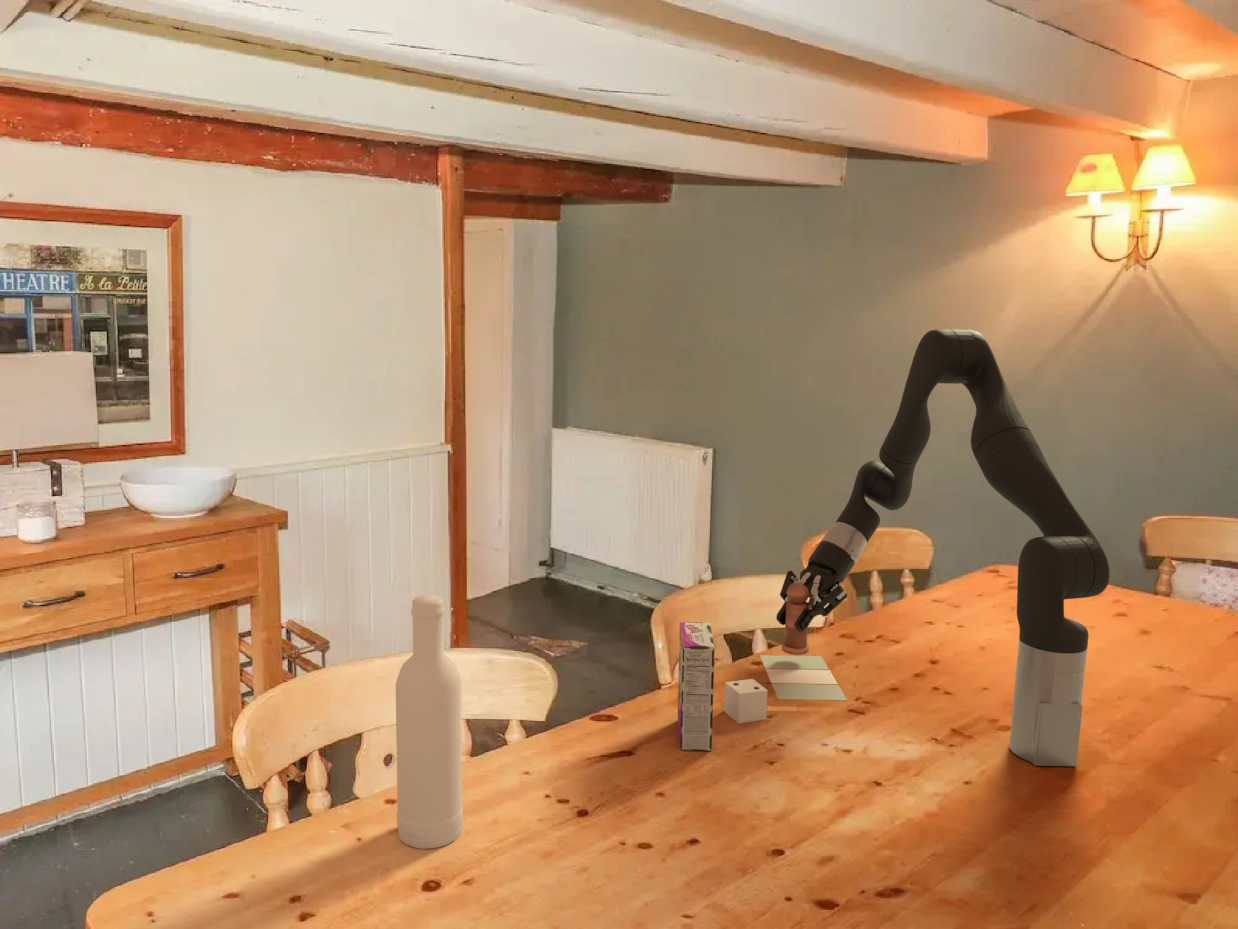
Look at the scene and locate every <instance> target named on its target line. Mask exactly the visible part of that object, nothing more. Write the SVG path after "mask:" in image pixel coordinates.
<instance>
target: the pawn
mask: <svg viewBox="0 0 1238 929" xmlns="http://www.w3.org/2000/svg"><path fill="white" fill-rule="evenodd" d="M787 597H788V599H789V600H788V601H787V602H786V620H785V625H784V626H785V627H784V629H785V630H784V641H783V642H782V644H781V650H782V652H784V653H785V654H788V655H793V656H803V655H805V654H808V653H809V652H810V651H809V649H810V648H809V644H808V642H807V640H808V627H807V628H806V629H805V630H804V631H803V632H800V631H798V630H797V629H796V628H795V626H794V624H795V622H796V620H797V619H798V618H799V616H800V615H801V613H802V612H803V610H804V609H807V605H808V602H809V601H808V599H809V598H808V597H809V590H808V588H807V587H806V585H804V584H803V583H800V582H795V583H793V584H791V585H790V586H789V587H788V589H787Z"/></svg>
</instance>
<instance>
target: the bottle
mask: <svg viewBox="0 0 1238 929" xmlns="http://www.w3.org/2000/svg"><path fill="white" fill-rule="evenodd" d="M411 602H412V603H411V606H412V607H411V609H410V613H411V614H410V615H411V616H412V655H411V656H410V657H409V658H408V659H406V661H405V662H404V663H403V664H402V666H401V667H400V669H399V672H398V675H397V678H396V682H395V729H396V730H395V731H396V733H395V735H396V742H395V743H396V786H397V787H396V788H397V793H396V794H397V797H396V798H397V802H396V803H397V804H396V805H397V811H396V825H397V835H398V838H399V840H400V841H401V842H402V843H403V844H404V845H406V846H409V847H411V848H414V849H421V850H428V849H437V848H441V847H444V846H445V847H446V846H448V845H449V844H452V843H453V842H454V841H456V840H457V839H458V838H459V837H460V836H461V834H462V831H463V818H464V808H463V773H462V772H463V771H462V770H463V765H462V764H463V762H462V761H463V760H462V759H463V757H462V756H463V755H462V754H463V753H462V751H463V749H462V748H463V747H462V744H463V742H462V740H463V739H462V738H463V736H462V733H463V732H462V730H463V729H462V727H463V726H462V724H463V723H462V718H463V717H462V678H461V676H460V672H459V671H458V668H457V666H456V663H455V662H454V661H453V660H452V659H451V658H450V657H448V656H447V655H446V654H445V652H444V649H445V648H444V642H445V641H444V613H445V611H446V610H445V607H444V599H443V598H442V597H441V596H439V595H436V594H433V595H432V594H424V595H419V596H417V597H414V598H413V599H412V601H411Z"/></svg>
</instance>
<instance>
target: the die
mask: <svg viewBox="0 0 1238 929" xmlns="http://www.w3.org/2000/svg"><path fill="white" fill-rule="evenodd" d="M768 692H769V690H768V689H766V688H765V687H764V686H763V685H762V684H760V683H759V682H757V681H756V680H755V679H753V678H749V679H741V680H733V681H726V682H725V683H724V703H723V705H724V706H723V712H725V713H726V714H727V715H728V716H729V717H730V718H731V719H732V720H733V721H735V722H736V723H737V724H743V723H749V722H750V723H751V722H758V721H765V720H767V711H768V710H767V709H768V708H767V706H768Z"/></svg>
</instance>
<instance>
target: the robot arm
mask: <svg viewBox="0 0 1238 929" xmlns="http://www.w3.org/2000/svg"><path fill="white" fill-rule="evenodd" d="M938 384H949V385H950V384H958V385H959V384H962V385H963V386H964V387H965V388H966V389H967V391H968V392H969V394H970V396H971V398H972V400H973V404H974V405H975V410H976V411H975V415H974V416H975V417H974V420H973V425H972V428H971V434H970V448H971V451H972V454H973V456H974V458H975V460H976V462H977V465H978V466H979V468H980V471H981V472H982V475H983V476H984V478H985V479H986V481H987V483H988V484H989V485H990V486H991V488H993V489H994V490H995V491H996V492H997V493H998V494H999V495H1000V496H1002V498H1004V499H1005V500H1007V501H1008V502H1009V503H1010V504H1012V505H1013V506H1014V507H1016V508H1017V509H1018V510H1019V511H1021V512H1022V513H1023V514H1025V515H1026V516H1027V517H1028V518H1029V519H1030V520H1031V521H1032V522H1033V523H1034V524H1035V526H1037V528H1038V529H1039V530H1040V532H1041V534H1042V535H1043V536H1037V537H1032V538H1031V539H1029V540H1028V541H1026V542H1025V544H1024V546H1023V547H1022V549H1021V551H1020V552H1021V553H1020V555H1019V559H1018V567H1017V585H1016V586H1017V589H1016V590H1017V594H1016V596H1017V597H1016V617H1017V622H1018V627H1019V628H1018V629H1019V635H1018V646H1017V658H1016V667H1015V680H1014V688H1013V689H1014V690H1013V701H1012V708H1011V709H1012V711H1011V712H1012V713H1011V724H1010V725H1011V726H1010V735H1009V736H1010V737H1009V749H1010V751H1011V752H1012V753H1013V754H1014V755H1015V756H1017V757H1019V758H1021V759H1022V760H1024V761H1027V762H1030V763H1032V765H1034V766H1036V767H1037V766H1038V767H1040V766H1041V767H1043V766H1044V767H1077V763H1078V754H1079V743H1080V737H1081V736H1080V735H1081V725H1082V714H1083V705H1082V701H1083V691H1084V681H1085V672H1086V665H1087V652H1088V647H1089V646H1088V645H1089V631H1088V629H1087V627H1086V626H1085V625H1084V624H1081V623H1080V622H1079V621H1075V620H1073V619H1070V618H1069V617H1065V604H1064V603H1065V600H1074V599H1075V600H1076V599H1085V598H1091V597H1095V596H1098V595H1101V594H1102V593H1103V592H1105V591H1106V589H1107V587H1108V585H1109V582H1110V565H1109V561H1108V559H1107V555H1106V553H1105V551H1104V549H1103V546H1102V545H1101V544H1100V542H1099V540H1098V538H1097V537H1096V536H1095V534H1094V532H1093V531H1092V530H1091V529H1090V527H1089V526H1088V524H1087V523H1086V521H1085V520H1084V519H1083V517H1082V516H1081V514H1080V512H1078V510H1077V509H1076V507H1075V506H1074V505H1073V503H1072V502H1071V500H1070V499H1069V497H1068V496H1067V495H1068V494H1066V492H1065V491H1064V489H1063V487H1062V485H1061V484H1060V482H1059V480H1058V479H1057V477H1056V476H1055V474H1054V472H1053V470H1052V469H1051V467H1050V465H1049V463H1048V461H1047V459H1046V458H1045V455H1044V454H1043V451H1042V449H1041V447H1040V445H1039V443H1038V442H1037V440H1036V438H1035V436H1034V435H1033V433H1032V431H1031V430H1030V428H1029V426H1028V425H1027V423H1026V422H1025V420H1024V417H1023V415H1022V414H1021V413H1020V410H1019V409H1018V407H1017V404H1016V402H1015V400H1014V399H1013V397H1012V395H1011V392H1010V391H1009V389H1008V386H1007V384H1006V382H1005V380H1004V377H1003V375H1002V372H1001V370H1000V367H999V365H998V362H997V359H996V357H995V355H994V352H993V350H992V348H991V345H990V344H989V342H988V341H987V339H986V338H985V337H984V335H983V334H982V333H981V332H978V331H976V330H973V329H965V328H964V329H961V328H958V329H957V328H955V329H953V328H937V329H931V330H928V331H927V332H926V333H925V334H924V335H923V336H922V338H921V339H920V341H919V343H918V345H917V346H916V350H915V351H914V356H913V358H912V362H911V365H910V368H909V371H908V375H907V378H906V382H905V385H904V389H903V391H902V397H901V400H900V403H899V407H898V410H897V413H896V416H895V418H894V421H893V423H892V425H891V427H890V429H889V431H888V432H887V435H886V437H885V439H884V440H883V442H882V445H881V447H880V448H879V452H878V456H879V457H878V458H879V460H880V462H879V461H877V460H869V461H867V462H865V463H864V464H863V465H861V466H860V468H859V469H858V470H857V474H856V477H855V480H854V484H853V488H852V490H851V493H850V497H849V499H848V501H847V503H846V505H845V507H844V508H843V510H842V512H841V513H840V514H839V516H838V518H837V519H836V520H835V522H834V523H833V524H832V525H831V527H830V528H829V529H827V531H826V533H825V534H824V536H823V537H822V539H820V542H819V543H818V545H817V546H816V547H815V549H814V550H813V552H812V553H811V555H810V557H809V558H808V562H807V566H806V568H804V569H803V570H802V571H801V572H798V573H797V572H794V571H793V570H788V571H787V572H786V574H785V579H784V582H783V584H782V587H781V589H780V593H779V596H780V598H781V599H782V600H783V601H784V602H783V604H782V606H781V608H780V609H779V610H778V612H777V613H776V618H775V619H776V621H777V622H778V623H779V624H780V625H782V626H785V620H786V602H787V601H788V600H789V599H788V597H787V589H788V587H789V586H790V585H791V584H793V583H795V582H800V583H803V584H804V585H806V587H807V588H808V590H809V597H808V599H809V600H808V601H807V602H808V605H807V609H804V610H803V612H802V613H801V615H800V616H799V618H798V619H797V620H796V622H795V624H794V626H795V628H796V629H797V630H798V631H800V632H803V631H804V630H805V629H806V628H807V629H808V628H809V626H810V624H811V623H812V621H813V619H814V618H816V617H818V616H821V617H824V618H825V617H827V616H828V615H829V614H830V613H831V612H832V611H834V610H835V609H836V608H837V607H838V606H840V604H841V603H842V602H843V601H844V600H846V599H847V598H848V593H847V592H846V590H845V589H844V588H843V587H842V586H841V585H840V584H842V583H844V581H845V580H846V578H847V577H848V575H849V574H850V572H851V571H852V570H853V568H854V566H855V565H856V563H857V562H858V560H859V558H860V557H861V555H862V554H863V552H864V550H865V548H866V546H867V544H868V542H869V541H870V539H871V538H872V537H873V535H874V533H876V531H877V529H878V527H879V525H880V523H881V517H880V515H879V514H878V512H877V510H875V509H874V508H873V507H872V506H871V505H870V504H869V503H868V502H867V501H866V498H867V499H869V500H871V502H872V501H873V502H874V503H876V504H877V505H879V506H880V507H882V508H884V509H886V510H888V511H896V510H899V509H902V508H903V507H904V506H905V505H906V504H907V502H908V501H909V498H910V496H911V491H912V488H913V479H914V472H915V468H916V465H917V463H918V462H919V459H920V457H921V456H922V454H923V451H924V450H925V448H926V446H927V444H928V442H929V440H930V436H931V428H932V427H931V425H932V424H931V419H930V418H931V417H930V414H929V410H928V400H929V397H930V395H931V393H932V391H934V389H935V387H936V386H937V385H938Z"/></svg>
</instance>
